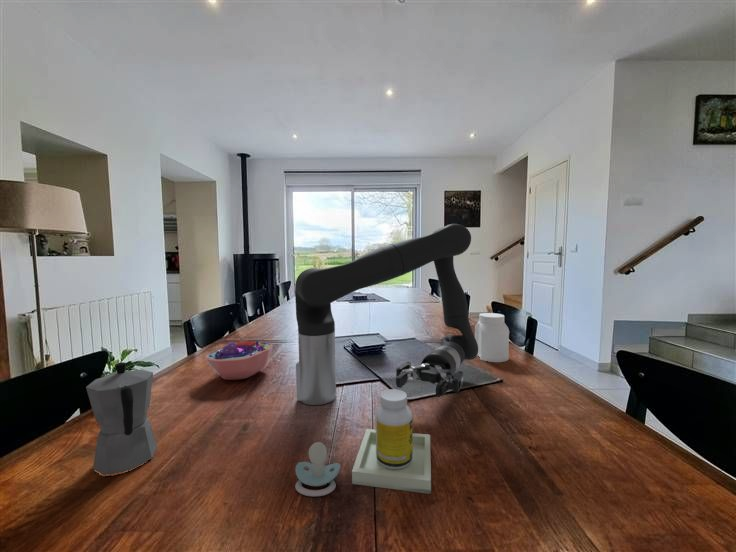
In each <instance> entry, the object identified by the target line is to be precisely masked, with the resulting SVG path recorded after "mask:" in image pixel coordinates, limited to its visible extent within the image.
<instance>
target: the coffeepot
mask: <svg viewBox="0 0 736 552" xmlns="http://www.w3.org/2000/svg"><path fill="white" fill-rule="evenodd" d="M114 368H115V371H113V372H111V373H109V375H106V376H102V377H99V378H96V379H94V380H93V381H92V382H90V383H89V384H88V385H87V386H86V387H85V388H86V392H87V396H88V399H89V402H90V406H91V409H92V414H93V416H94V420H95V423H97V424H99V431H98V434H97V437H96V438H97V439H96V446H95V453H94V459H93V466H92V470H93V469H94V470H96V471H98V472H100V473H101V474H103V475H106V474H114V473H119V472H124V471H127V470H128V471H129V470H131V469H133V468H135V467H137V466H139V465H141V464H143V463H145V462H147V461H148V460H150V459H151V460H152V459H153V458H152V457H154V456H155V455H154V453H155V454H156V452H157V449H158V444H157V441H156V438H155V434H154V430H153V428H152V424H151V421H150V418H148V410H149V409H150V403H151V394H152V389H153V388H152V386H153V376H154V372H153V371H149V370H146V369H135V370H134V369H133V370H127V369H126V368H127V362H118V363H115V364H114ZM155 451H156V452H155ZM153 455H154V456H153ZM151 460H150V461H151ZM148 462H149V461H148ZM148 462H147V463H148Z"/></svg>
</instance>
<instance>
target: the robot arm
mask: <svg viewBox="0 0 736 552" xmlns="http://www.w3.org/2000/svg"><path fill="white" fill-rule="evenodd" d="M471 242H472V233H471V232H470V230H469V229H468V228H467V227H465V226H464V225H462V224H459V223H451V224H447V225H444V226H442V227H439V228H437V229H435V231H433V232H432V233H429V234H427V235H423V236H420V237H413V238H409V239H405V240H401V241H397V242H392V243H389V244H387V245H383V246H379V247H377V248H374V249H372V250H370V251H368V252H366V253H364V254H363V255H361V256H360V257H358V258H355V259H354V260H352V261H349V262H347V263H343V264H339V265H335V266H331V267H326V268H315V267H313V268H306V269H305V270H303V271H302V272H301V273H299V275H298V276H297V278H296V281H295V284H294V285H295V286H294V295H295V296H294V297H295V300H294V301H295V318H296V323H297V333H298V334H297V336H298V339H297V341H298V361H297V363H295V379H296V380H295V382H296V401H297V402H301V403H303V404H305V405H309V406H320V405H326V404H328V403H330V402H333V401H334V400H335V399H336V397H337V382H336V381H337V377H336V376H337V375H336V374H337V372H336V329H335V328H336V325H335V319H334V316H333V314H332V313H333V312H332V303H333V302H336V301H337V300H340V299H342V298H343V297H345V296H348V295H350V294H351V293H355V292H356V291H359V290H362V289H364V288H368V287H372V286H376V285H379V284H381V283H385V282H387V281H388V282H389V281H391V280H394V279H396V278H399V277H402V276H403V275H406V274H409V273H410V272H413V271H415V270H417V269H419V268H422V267H423V266H426V265H428V264H429V263H431V262H433V263H434V268H435V272H436V277H437V279H438V284H439V288H440V294H441V295H440V296H441V302H442V312H443V322H444V325H445V327H448V328H452V329H456V330H458V331H459V333H461V334H447V335H445V336H442V338H441V341H440V346H438V347H436V348H435V349H433V350H432V351H431V352H429V353H428V354H427V355H426V356H424V358H423V359H422V361H421V363H419V364H416V365H412V362H411V361H405V362H404V363H402V364H401V365H399V366H397V367H396V372H395V374H396V375H395V376H396V377H395V385H396V387H397V388H398V389H401V388H403V386H404V385H406V384H407V383H409V382H410V383H411V382H412V383H414V384H416V383H422V382H424V383H428V382H429V383H430V384H433V385H435V386H436V387H435V397H436V398H437V397H438V398H440V397H441V396H444V395H446V393H447V392H450V390H451V391H452V392H453V393H459V392H460V391H461V388H462V386H463V385H464V372H463V371H462V370H460V371H459V368H460V367H461V365H462V364H463V363H464V360H467V361H471V360H472V361H473V360H474V359H475V358H477V357H478V356H477V354H478V344H477V341H476V339H475V333H474V332H473V329H472V327H471V323H470V319H469V311H468V302H467V296H466V294H465V290H464V289H463V287H462V285H461V283H460V281H459V278H458V276H457V274H456V270H455V264H454V257H455V256H460V255H462V254H463V253H465V252H466V251H467V250H468V249H469V247H470V245H471ZM408 375H409V376H408Z"/></svg>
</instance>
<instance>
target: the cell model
mask: <svg viewBox="0 0 736 552" xmlns="http://www.w3.org/2000/svg"><path fill="white" fill-rule="evenodd" d="M272 355H273V344H272V343H270V342H266V341H258V340H256V341H250V342H249V341H248V342H246V341H245V342H243V341H242V342H233V341H230V342H228V343H226V344H225V345H222V346H220V347H218V348H216V349H213V350H212V351H210V352H208V353H206V354H205V355H204V359H205V361H206V362H207V364H208V365H209V366H210V368H211V369H212V370H213V371H215V373H216V374H217V375H218V376H219V377H220V378H222V379H223V380H227V381H240V380H246V379H248V378H251V377H252V376H255V375H256V374H257V373H259V372H261V371H262V370H263V369H264V368H265V367H266V366H267V364H268V363H269V361H270V360H271V358H272Z"/></svg>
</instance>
